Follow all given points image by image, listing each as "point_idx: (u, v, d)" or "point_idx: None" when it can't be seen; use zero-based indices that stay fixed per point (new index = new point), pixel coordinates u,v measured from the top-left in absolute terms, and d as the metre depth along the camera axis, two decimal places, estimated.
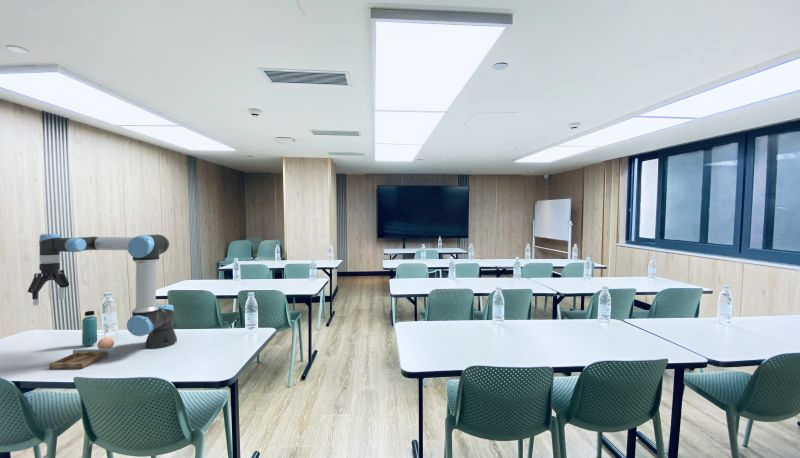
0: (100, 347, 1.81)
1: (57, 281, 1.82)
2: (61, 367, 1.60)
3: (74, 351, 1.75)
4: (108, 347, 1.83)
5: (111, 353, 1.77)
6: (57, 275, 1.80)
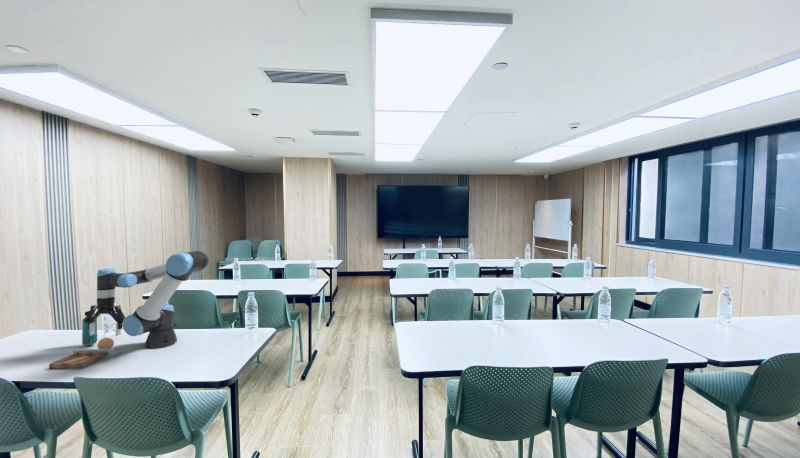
0: (100, 347, 1.81)
1: None
2: (61, 367, 1.60)
3: (74, 351, 1.75)
4: (108, 347, 1.83)
5: (111, 353, 1.77)
6: (108, 310, 1.83)
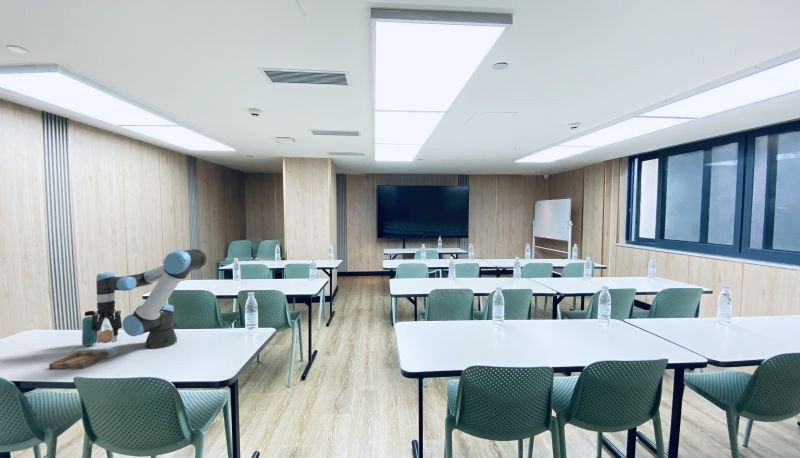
0: (101, 339, 1.81)
1: None
2: (61, 367, 1.60)
3: (74, 351, 1.75)
4: (109, 339, 1.83)
5: (111, 353, 1.77)
6: (108, 315, 1.83)
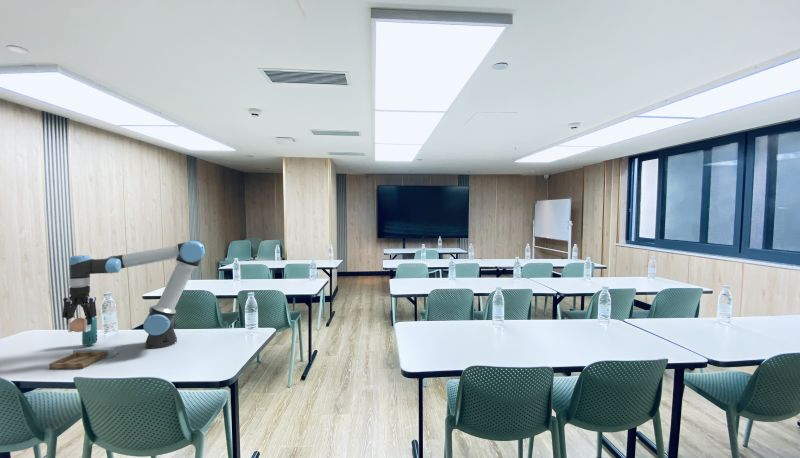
0: (73, 328, 1.64)
1: None
2: (61, 367, 1.60)
3: (74, 351, 1.75)
4: (82, 328, 1.66)
5: (111, 353, 1.77)
6: (81, 301, 1.66)
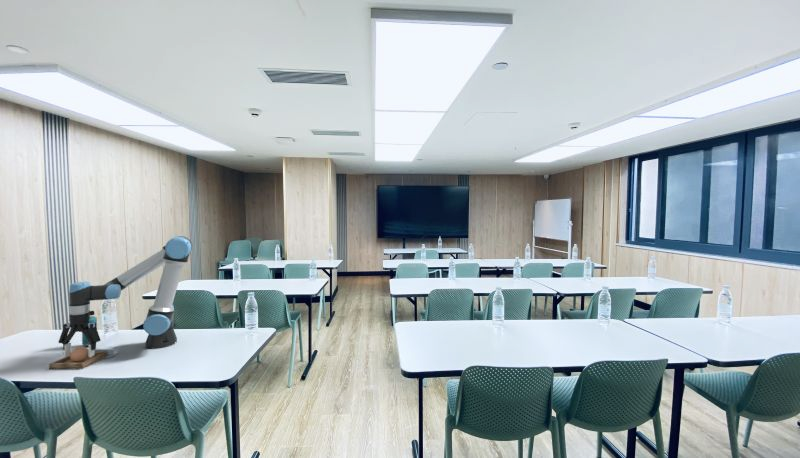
0: (73, 358, 1.65)
1: None
2: (61, 367, 1.60)
3: None
4: (82, 358, 1.67)
5: (111, 353, 1.77)
6: (81, 328, 1.66)
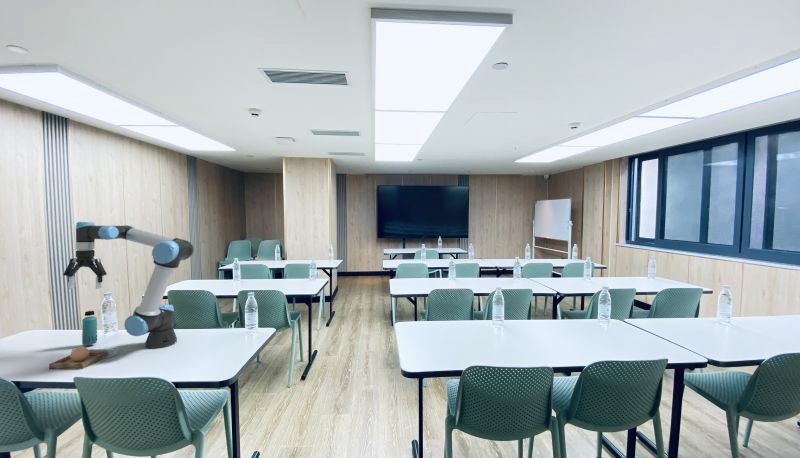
0: (73, 358, 1.65)
1: None
2: (61, 367, 1.60)
3: None
4: (82, 358, 1.67)
5: (111, 353, 1.77)
6: (87, 263, 1.81)
